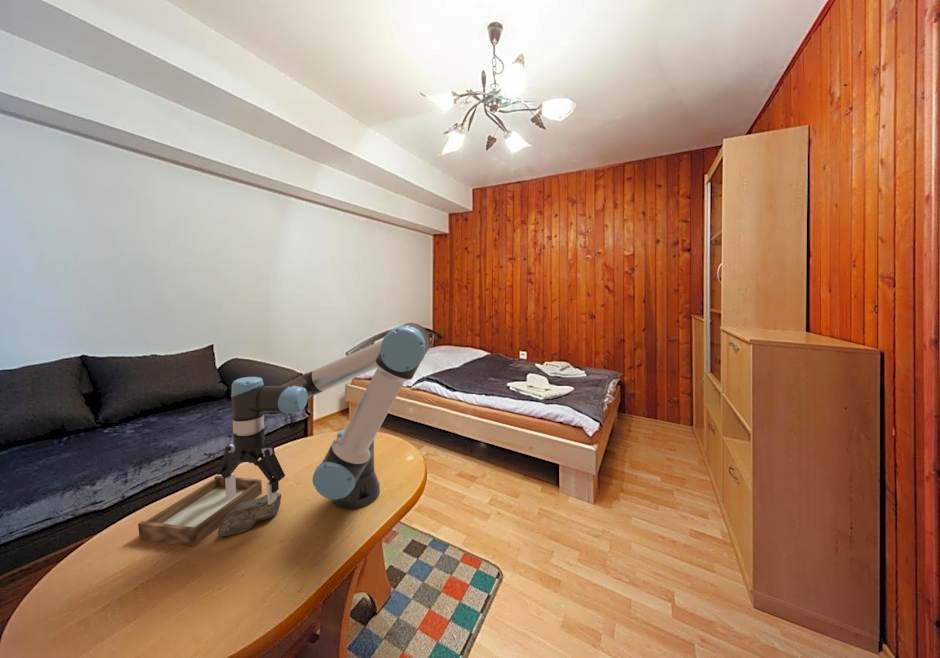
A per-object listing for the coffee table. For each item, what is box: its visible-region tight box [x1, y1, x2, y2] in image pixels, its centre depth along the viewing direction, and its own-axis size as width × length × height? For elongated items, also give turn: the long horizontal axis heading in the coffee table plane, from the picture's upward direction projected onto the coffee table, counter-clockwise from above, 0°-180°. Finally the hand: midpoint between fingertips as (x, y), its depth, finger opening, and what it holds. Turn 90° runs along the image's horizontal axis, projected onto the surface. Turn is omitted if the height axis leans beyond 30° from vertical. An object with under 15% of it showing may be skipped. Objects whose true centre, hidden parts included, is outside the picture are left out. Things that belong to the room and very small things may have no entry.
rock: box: [217, 492, 282, 537], centre depth 96 cm, size 17×7×10 cm
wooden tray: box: [137, 475, 263, 548], centre depth 99 cm, size 17×24×5 cm
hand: (251, 499), depth 96 cm, fingers open, 13 cm apart
